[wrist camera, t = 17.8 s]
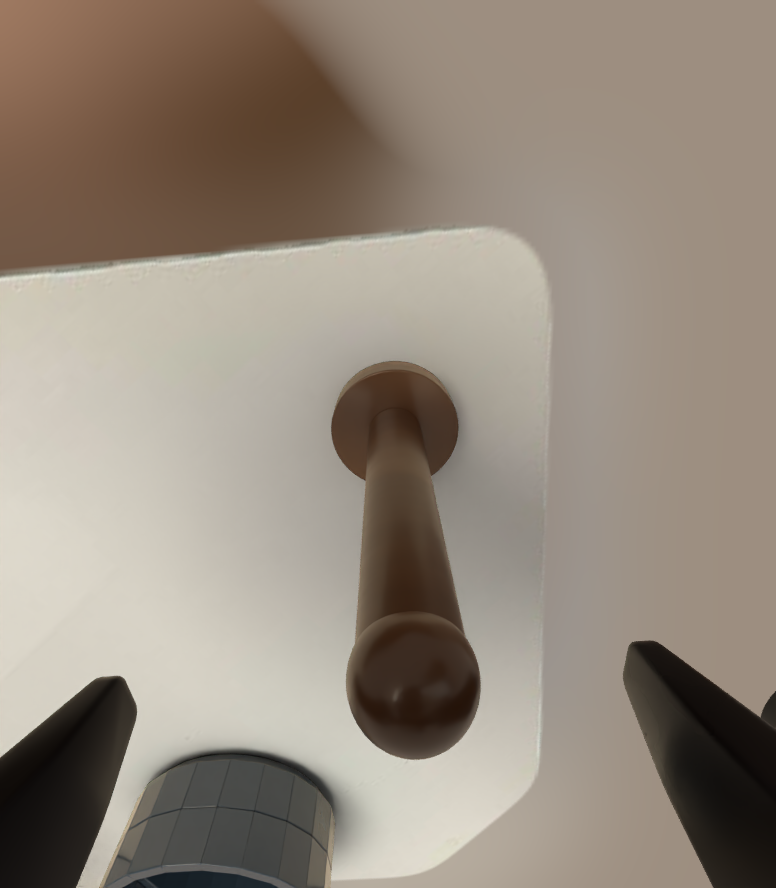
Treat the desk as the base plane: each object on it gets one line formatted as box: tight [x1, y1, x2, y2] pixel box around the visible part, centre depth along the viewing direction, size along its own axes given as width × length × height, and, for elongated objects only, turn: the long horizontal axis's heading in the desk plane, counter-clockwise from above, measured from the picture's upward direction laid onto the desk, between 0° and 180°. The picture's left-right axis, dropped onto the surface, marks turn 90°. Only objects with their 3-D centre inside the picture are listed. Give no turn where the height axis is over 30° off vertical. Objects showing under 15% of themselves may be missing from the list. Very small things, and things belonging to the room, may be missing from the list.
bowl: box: [99, 754, 335, 888], centre depth 24 cm, size 11×11×5 cm
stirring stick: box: [331, 361, 481, 760], centre depth 11 cm, size 4×4×12 cm
